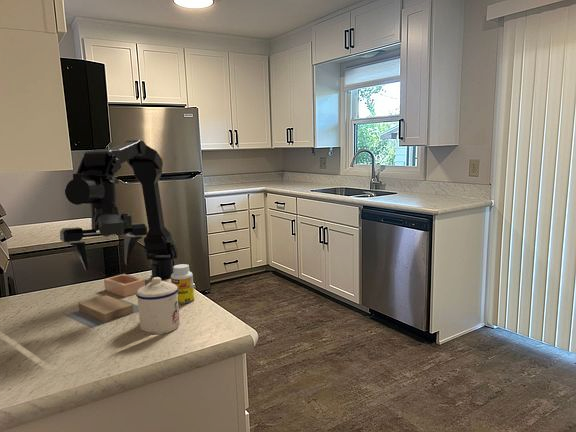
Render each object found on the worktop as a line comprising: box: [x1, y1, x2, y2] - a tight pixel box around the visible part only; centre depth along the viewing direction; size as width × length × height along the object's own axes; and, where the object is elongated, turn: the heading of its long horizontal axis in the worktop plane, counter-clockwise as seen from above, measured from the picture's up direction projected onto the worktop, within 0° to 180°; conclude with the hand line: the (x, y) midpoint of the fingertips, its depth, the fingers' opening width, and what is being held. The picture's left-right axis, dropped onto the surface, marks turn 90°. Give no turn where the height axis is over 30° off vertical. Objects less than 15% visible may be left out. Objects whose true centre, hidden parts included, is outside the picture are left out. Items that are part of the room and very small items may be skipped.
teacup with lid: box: [135, 277, 181, 336], centre depth 96 cm, size 12×9×12 cm
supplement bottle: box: [170, 263, 195, 306], centre depth 110 cm, size 6×6×10 cm
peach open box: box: [103, 273, 146, 298], centre depth 121 cm, size 6×11×4 cm, turn 51°
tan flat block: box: [78, 294, 135, 323], centre depth 105 cm, size 7×13×2 cm, turn 51°
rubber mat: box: [64, 298, 139, 329], centre depth 105 cm, size 14×14×1 cm
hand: (107, 267), depth 102 cm, fingers open, 9 cm apart
